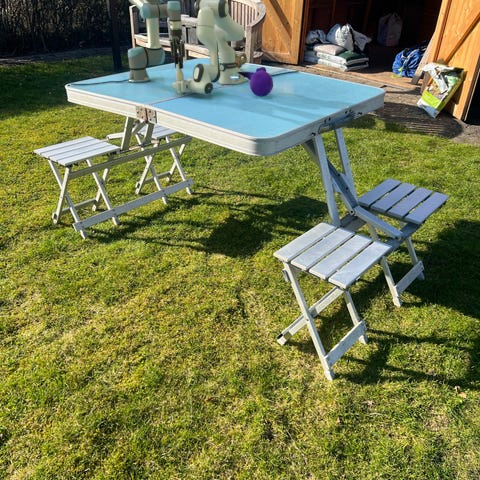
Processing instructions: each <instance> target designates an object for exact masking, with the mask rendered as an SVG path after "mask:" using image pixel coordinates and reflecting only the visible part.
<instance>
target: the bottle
mask: <svg viewBox="0 0 480 480" xmlns="http://www.w3.org/2000/svg"><path fill="white" fill-rule="evenodd" d="M184 75H185V74H184V71H183V70H182V69H179V68H176V73H175V80H176V81H175V82H179V81H184V80H185V76H184ZM176 93H177V94H179V95H183V94H185V93H186V92H182V91H179V90H176Z"/></svg>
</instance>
